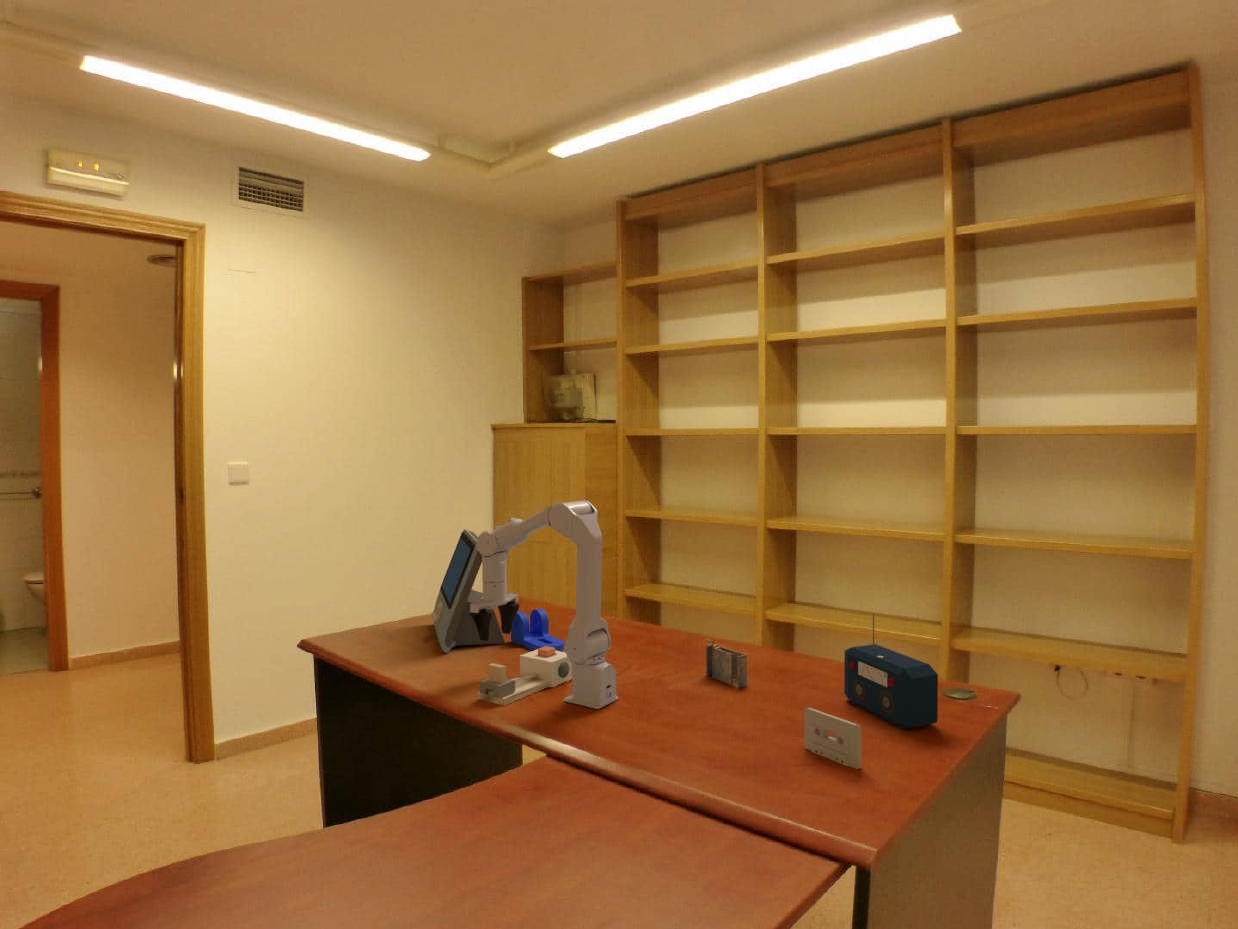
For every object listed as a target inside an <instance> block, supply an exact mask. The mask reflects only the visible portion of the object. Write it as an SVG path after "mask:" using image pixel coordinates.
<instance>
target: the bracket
mask: <svg viewBox="0 0 1238 929" xmlns="http://www.w3.org/2000/svg"><path fill="white" fill-rule="evenodd" d="M549 628H550V626H549V616H548V613H547V612H546V611H545V609H543V608H537V609H532V610H531V612H530V615H529V618H528V615H527V613H526V612H525V611H517V613H516V615H515V617H514V620H513V624H512V628H511V632H510V642H511V641H512V642H511V643H513V642H514V643H513V644H516V645H518V644H520V645H522V646H521V647H523V646H524V647H523V648H525V647H526V648H525V649H527V648H528V650H530V651H532V650H537V649H539V648H542V647H545V646H547V647H553V648H555V649H556V651H562V650H563V651H565V641H564V640H562V639H559V638H558V637H555V636H551V634H550V629H549ZM520 645H519V646H520ZM563 651H562V652H563Z"/></svg>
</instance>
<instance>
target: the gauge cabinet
mask: <svg viewBox="0 0 1238 929" xmlns="http://www.w3.org/2000/svg"><path fill="white" fill-rule="evenodd" d="M532 673H536V674H539V679H544V680H548V681H549V687H548V688H551V687H553V688H556V687H557V685H558V686H560V685H562V684H561V683H563V682H565V681H567V682H569V680H570V681H572V680H571V679H572V663H571V662H570V659H569V658H568V656H567V655H566V652H564V651H562V652H561V651H556V655H554V656H552V657H549V658H546V657H541V656H538V649H537V650H534V651H532V650H530V651H529V652H525V653H524V654H520V655H519V676H521V675H526V676H527V675H529V674H532ZM565 683H566V682H565ZM559 684H560V685H559ZM563 684H564V683H563Z"/></svg>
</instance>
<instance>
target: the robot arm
mask: <svg viewBox="0 0 1238 929" xmlns="http://www.w3.org/2000/svg"><path fill="white" fill-rule="evenodd" d="M598 511H599V510H598V509H596V507H594V505H593V504H592V503H591V502H590V501H588V500H586V499H579V500H578V501H576V500H575V501H569V502H567V501H566V502H555V503H554V504H553V505H548V506H546V507H545V508H543V509H542V510H539V511H538V512H536V513H534V514H532V515H530V516H529V517H527V518H526V519H524V520H523V519H521V518H515V517H512V518H509V519H507V521H506V522H507V523H505V524H503V525H496V526H494V529H493V530H492V531H482V532H481V533H480V534H479V536H478V539H477V549H478V551H479V552H480V554H481V555H482V563H481V570H482V578H481V579H482V580H481V581H482V593H483V597H481V600H479V601H477V602H475V603H472V604H470V616H471V617H472V619H473V620H474V622H475V625H476V627H477V630H478V633H479V637H480V640H483V641H488V639H489V625H490V620H491V617H492V613H488V612H487V611H486V609H490V608H493V609H494V608H496V607H497V608H498V611H499V615H500V629H501V632H502V634H506V635H511V628H512V624H513V620H514V617H515V615H516V613H517V612H519V611H518V610H519V609H520V603H518V602H519V594H518V593H514V592H512V593H507V592H508V590H507V588H508V587H507V586H508V585H507V560H508V557H509V551H510V550H511V549H513V548H514V547H516V546H519V545H520V544H523V543H526V542H527V540H529V537H530V534H531V533H534V532H536V531H538V530H541V529H544V528H545V527H551V528H552V529H553V530H554V531H556V532H557V533H559V534H561V535H562V536H564V537H566V538H567V539H568V540H570V541H571V542H572V543H573V544H574V545H575V546H576V550H577V551H576V580H575V581H576V585H575V588H576V590H575V616H574V618H573V620H572V622H570V625H569V626H568V628H567V629H568V632H567V633H568V634H567V637H566V638H565V641H564V651H565V652H566V655H567V656H568V658H569V659H570V662H571V663H572V680H571V689H572V693H571V695H568V696H567V697H565V698H564V699H563V701H564V702H566V703H569V704H570V703H571V704H575V705H579V706H583V707H587V708H591V709H594V710H595V709H596V710H599V709H601V708H604V707H606V706H607V705H609V704H611V703H613V702H615V701H617V700H618V699H619V696H617V670H616V668H615V666H614V665H613V664H611V663H608V662H607V661H606V660H605V659H606V657H607V654H606V653H607V652H608V651H609V649H610V648H611V645H612V639H611V636H610V632H609V622H607V620H606V619H604V618H602V616H601V615H602V614H601V610H602V603H601V602H602V575H603V574H602V573H603V542H604V541H603V534H602V532H601V529H600V528H601V527H600V525H599V521H598V516H599V515H598V514H599V513H598Z"/></svg>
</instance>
